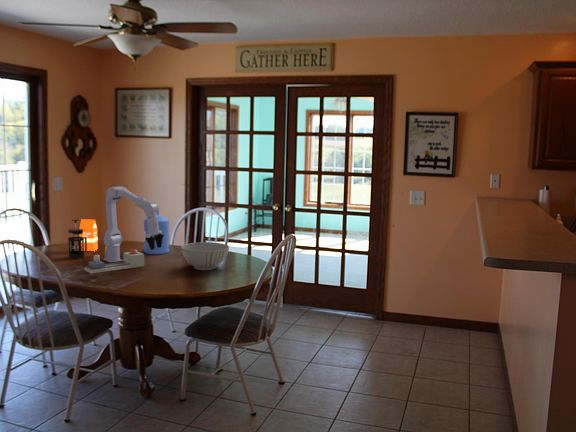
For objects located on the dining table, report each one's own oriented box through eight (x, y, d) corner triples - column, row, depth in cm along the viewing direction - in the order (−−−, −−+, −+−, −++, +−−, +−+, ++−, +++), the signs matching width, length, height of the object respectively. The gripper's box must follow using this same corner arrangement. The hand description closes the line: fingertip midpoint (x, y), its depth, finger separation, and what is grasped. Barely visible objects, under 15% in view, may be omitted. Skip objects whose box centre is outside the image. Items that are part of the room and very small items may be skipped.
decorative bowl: (221, 274, 304) (221, 252, 302) (173, 271, 309) (173, 249, 307) (234, 263, 330) (234, 243, 328) (190, 261, 335) (190, 241, 333)
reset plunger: (129, 256, 320) (129, 249, 319) (135, 255, 322) (135, 249, 322) (132, 257, 317) (132, 250, 317) (138, 257, 319) (138, 250, 319)
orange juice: (93, 252, 354) (92, 220, 351) (79, 251, 354) (78, 220, 351) (97, 249, 361) (97, 218, 359) (84, 249, 362) (83, 218, 359)
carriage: (88, 265, 307) (88, 254, 306) (99, 264, 311) (99, 253, 310) (93, 268, 302) (93, 257, 301) (104, 266, 305) (104, 255, 305)
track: (84, 270, 307) (84, 257, 306) (136, 262, 327) (136, 251, 326) (91, 273, 300) (90, 260, 299) (144, 266, 319) (144, 254, 318)
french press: (72, 260, 330) (70, 221, 327) (64, 257, 336) (62, 219, 333) (90, 257, 339) (89, 219, 335) (82, 254, 345) (81, 217, 341)
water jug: (174, 251, 360) (174, 208, 356) (156, 255, 347) (156, 210, 343) (157, 248, 368) (156, 206, 364) (138, 252, 355) (138, 208, 351)
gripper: (152, 225, 308) (155, 250, 310) (165, 222, 322) (168, 246, 323) (141, 226, 310) (144, 251, 312) (154, 223, 324) (157, 246, 325)
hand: (156, 248), depth 318 cm, fingers open, 7 cm apart
